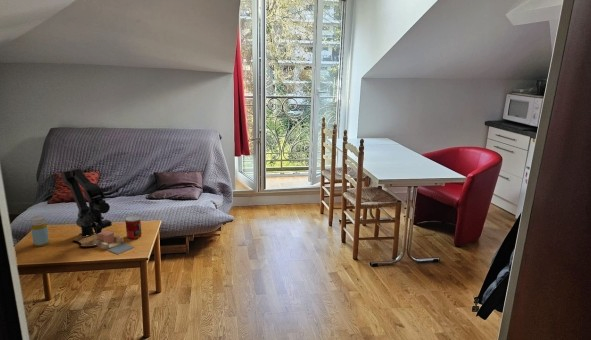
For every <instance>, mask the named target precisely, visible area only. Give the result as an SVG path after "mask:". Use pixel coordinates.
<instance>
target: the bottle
mask: <svg viewBox="0 0 591 340" xmlns="http://www.w3.org/2000/svg"><path fill="white" fill-rule="evenodd" d="M30 223H31V226H30V230H31V236H32V241H33V245H34V246H35V247H38V248H39V247H44V246H47V245H48V244H50V243H49V242H50V239H49V230H48V225H47V223H46V218H45V216H44V215H36V216H33V217H31V218H30Z"/></svg>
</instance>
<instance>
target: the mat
mask: <svg viewBox="0 0 591 340" xmlns="http://www.w3.org/2000/svg"><path fill="white" fill-rule="evenodd" d="M134 248H135V246H133V245H131V244H128V243H125V242H124V243H123V244H121V245H118V246H116V247H113V248H111V249H108V250H107V251H108V252H110V253H113V254H116V255H120V254H122V253H125V252H127V251H129V250H131V249H134Z"/></svg>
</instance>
